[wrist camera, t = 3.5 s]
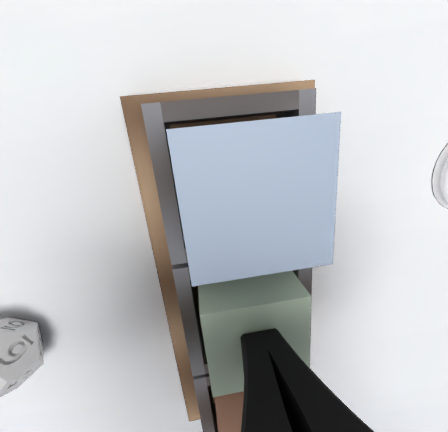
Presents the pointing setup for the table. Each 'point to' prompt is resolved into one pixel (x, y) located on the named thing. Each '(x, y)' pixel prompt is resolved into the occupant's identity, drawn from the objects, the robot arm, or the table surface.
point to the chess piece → (441, 178)
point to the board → (169, 209)
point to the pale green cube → (251, 322)
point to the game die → (18, 352)
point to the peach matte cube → (229, 412)
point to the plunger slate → (257, 195)
